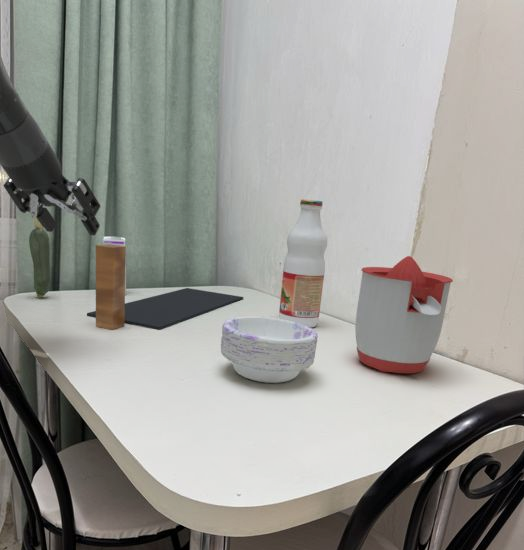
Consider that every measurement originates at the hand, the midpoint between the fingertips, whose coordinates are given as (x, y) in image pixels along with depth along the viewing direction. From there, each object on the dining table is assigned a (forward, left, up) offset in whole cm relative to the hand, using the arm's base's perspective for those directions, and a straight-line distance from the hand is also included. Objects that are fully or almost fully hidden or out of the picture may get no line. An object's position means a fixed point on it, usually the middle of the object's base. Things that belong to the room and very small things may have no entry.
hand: (73, 230), depth 87 cm
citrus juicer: (+48, -34, -19) cm, 61 cm away
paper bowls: (+23, -29, -19) cm, 41 cm away
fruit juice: (+51, -2, -19) cm, 54 cm away
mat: (+30, +21, -19) cm, 41 cm away
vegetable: (+2, +35, -19) cm, 40 cm away
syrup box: (+21, +39, -19) cm, 48 cm away
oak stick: (+9, +6, -19) cm, 22 cm away
